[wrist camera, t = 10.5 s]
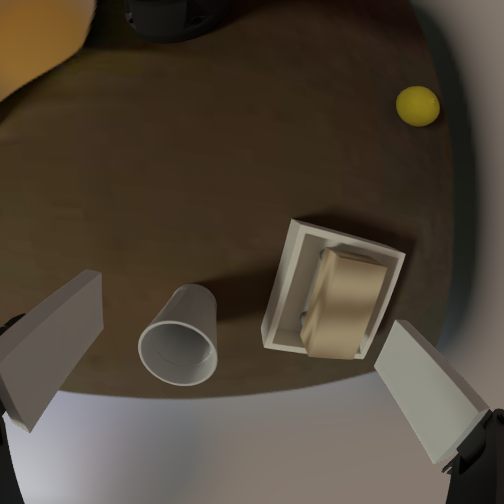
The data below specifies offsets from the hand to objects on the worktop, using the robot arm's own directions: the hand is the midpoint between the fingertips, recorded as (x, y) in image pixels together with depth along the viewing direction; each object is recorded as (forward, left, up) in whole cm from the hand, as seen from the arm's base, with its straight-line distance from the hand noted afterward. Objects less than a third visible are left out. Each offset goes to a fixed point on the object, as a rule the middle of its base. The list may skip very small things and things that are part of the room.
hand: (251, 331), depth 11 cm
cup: (+11, -4, -24) cm, 27 cm away
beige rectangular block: (+5, +13, -21) cm, 25 cm away
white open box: (+5, +13, -24) cm, 28 cm away
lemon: (-23, +18, -24) cm, 38 cm away
